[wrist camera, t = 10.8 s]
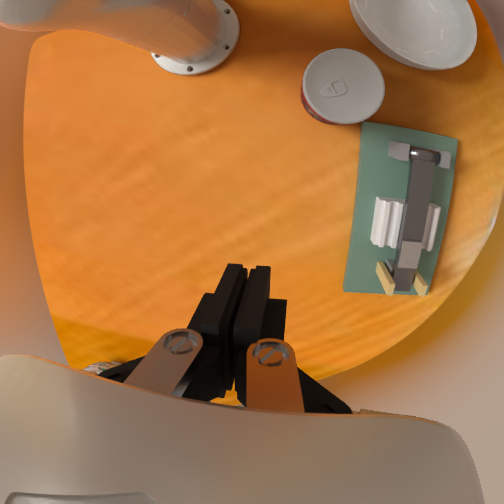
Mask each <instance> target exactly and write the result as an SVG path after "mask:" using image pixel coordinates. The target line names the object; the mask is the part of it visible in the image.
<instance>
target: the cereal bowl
mask: <svg viewBox="0 0 504 504" xmlns="http://www.w3.org/2000/svg"><path fill="white" fill-rule="evenodd" d="M349 4H350V8H351V11H352V14H353V17H354V19H355V21H356V23H357V24H358V26H359V28H360V30H361V31H362V32H363V33H364V34H365V36H366V37H367V38H368V39H369V40H370V41H371V42H372V43H373V44H374V45H375V46H376V47H377V48H378V49H380V50H381V51H382V52H383V53H385V54H386V55H388V56H389V57H391V58H392V59H394V60H396V61H398V62H400V63H402V64H405V65H408V66H411V67H414V68H419V69H424V70H446V69H451V68H454V67H457V66H459V65H461V64H463V63H464V62H465V61H466V60H467V59H468V58H469V57H470V56H471V54H472V53H473V51H474V48H475V46H476V41H477V27H476V22H475V18H474V15H473V12H472V10H471V8H470V5H469V4H468V2H467V0H349Z"/></svg>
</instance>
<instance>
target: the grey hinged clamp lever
mask: <svg viewBox="0 0 504 504" xmlns="http://www.w3.org/2000/svg"><path fill="white" fill-rule="evenodd" d="M409 159H410V165H409V175H408V183H407V191H406V199H405V205H404V212H403V218H402V224H401V230H400V235H399V241H398V246H397V251H396V256H395V260H394V265H393V270H392V274H391V277H392V279H393V281H394V283H395V287H394V291H407V292H410V289H411V285H412V281H413V278H414V274H415V270H416V269H417V266H418V262H419V258H420V254H421V249H422V245H423V242H422V240H423V235H424V230H425V225H426V219H427V214H428V208H429V202H430V195H431V189H432V181H433V173H434V164H438V163H439V160H440V155H439V152H438V151H434V150H429V149H424V148H418V147H413V146H410V149H409Z"/></svg>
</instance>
